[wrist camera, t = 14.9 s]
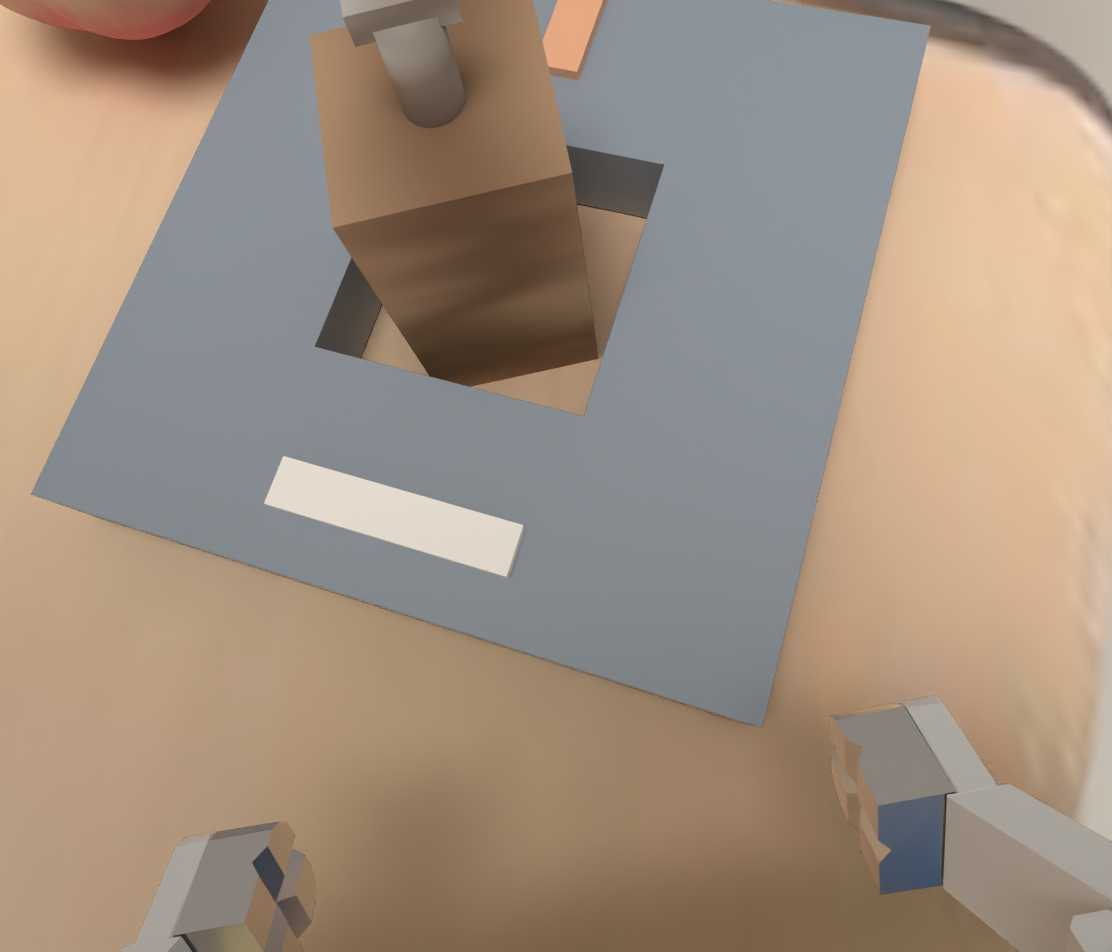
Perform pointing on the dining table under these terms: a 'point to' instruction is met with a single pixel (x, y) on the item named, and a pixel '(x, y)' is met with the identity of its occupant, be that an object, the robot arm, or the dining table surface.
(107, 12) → the decorative fruit
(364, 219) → the wooden peg with knob
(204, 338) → the socket plate
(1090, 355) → the dining table surface
